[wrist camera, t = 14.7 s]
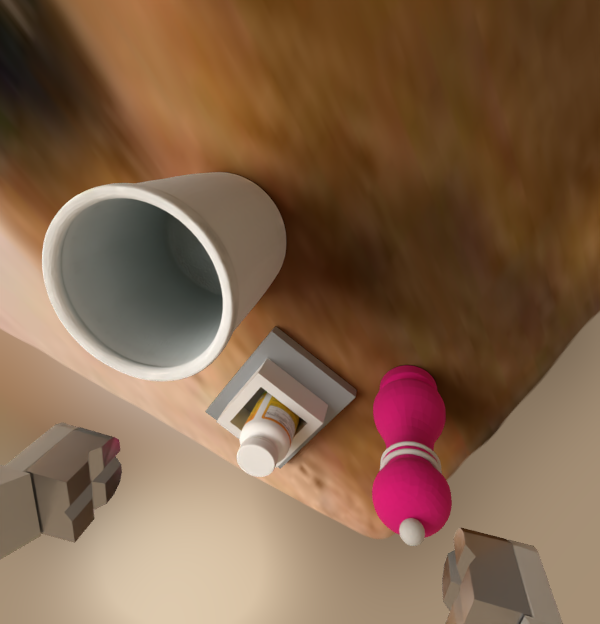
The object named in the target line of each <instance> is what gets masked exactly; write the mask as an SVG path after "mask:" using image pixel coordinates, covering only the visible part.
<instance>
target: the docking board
mask: <svg viewBox="0 0 600 624" xmlns="http://www.w3.org/2000/svg"><path fill="white" fill-rule="evenodd" d="M265 391H267V392H268V393H269V394H271V395H272V396H273V397H275V398H276V399H277V400H279V401H280V402H281V403H282V404H284V405H285V406H286V407H288V408H289V409H290V410H291V411H293V412H294V413H295V414H297V415H298V416H299V417H300V421H299V423H298V426H297V429H296V432H295V434H294V437H293V440H292V443H291V446H290V448H289V451H288V453H287V455H286V457H285V458H284V459H283V460H282V461H280V462H278V463H277V464H276V466H275V467H276V468H277V467H279V468H281V467H282V466H284V465H285V464H286V463H287V462H288V461H289V460H290V459H291V458H292V457H293V456H294V455H295V454H296V453H297V452H298V451H299V450H300V449H301V448H302V447H304V446H305V445H306V444H307V443H308V442H309V441H310V440H311V439H312V438H313V437H314V436H315V435H316V434H317V433H318V432H319V431H320V430H321V429H323V428H324V427H325V426H326V425H327V424H328V423H329V422H330V421H331V420H332V419H333V418H334V417H335V416H336V415H337V414H338V413H339V412H340V411H341V410H343V409H344V408H345V407H346V406H347V405H348V404H349V403H350V402H351V401H352V400H353V399H354V398H355V397H356V392H357V390H356V389H355V388H353V387H352V386H351V385H350V384H348V383H347V382H346V381H345V380H343V379H342V378H341V377H340V376H338V375H337V374H336V373H334V372H333V371H332V370H331V369H329V368H328V367H327V366H326V365H324V364H323V363H322V362H321V361H319V360H318V359H317V358H315V357H314V356H313V355H312V354H310V353H309V352H308V351H307V350H305V349H304V348H303V347H301V346H300V345H299V344H298V343H296V342H295V341H294V340H293V339H291V338H290V337H289V336H288V335H286V334H285V333H284V332H282V331H281V330H280V329H279V328H277V327H276V326H275V327H274V328H273V330H272V331H271V332H270V333H269V334H268V336H267V337H266V338H265V339H264V340H263V342H262V343H261V344H260V345H259V346H258V348H257V349H256V350H255V351H254V353H253V354H252V355H251V356H250V357H249V359H248V360H247V361H246V362H245V363H244V365H243V366H242V367H241V368H240V370H239V371H238V372H237V373H236V374H235V376H234V377H233V378H232V379H231V380H230V382H229V383H228V384H227V385H226V386H225V388H224V389H223V390H222V391H221V393H220V394H219V395H218V396H217V397H216V399H215V400H214V401H213V402H212V403H211V405H210V406H209V407H208V409H207V410H206V411H205V412H206V413H208V414H209V415H210V416H212V417H213V418H214V419H216V420H217V421H216V422H217V423H219V424H220V425H221V426H223V427H224V428H225V429H226V430H228V431H229V432H230V433H232V434H233V435H234V436H236V437H237V438H238V439H240V433H241V431H242V429H243V427H244V425H245V423H246V421H247V419H248V418H249V416H250V414H251V412H252V410H253V409H254V407H255V405H256V403H257V401H258V399H259V398H260V396H261V395H262V393H263V392H265Z"/></svg>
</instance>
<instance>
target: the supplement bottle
mask: <svg viewBox="0 0 600 624" xmlns="http://www.w3.org/2000/svg"><path fill="white" fill-rule="evenodd" d="M299 421H300V417H299V416H298V415H297V414H295V413H294V412H293V411H291V410H290V409H289V408H288V407H286V406H285V405H284V404H282V403H281V402H280V401H279V400H277V399H276V398H275V397H273V396H272V395H271V394H269V393H268V392H267V391H265V392H263V393H262V395H261V396H260V398H259V399H258V401H257V403H256V405H255V407H254V409H253V410H252V412H251V414H250V416H249V418H248V419H247V421H246V423H245V425H244V427H243V429H242V431H241V433H240V445H241V446H240V448H239V450H238V452H237V462H238V464H239V466H240V468H241V469H242V470H243V471H245V472H246V473H248V474H249V475H252V476H256V477H264V476H267V475H269V474H271V473H272V472H273V470H274V468H275V466H276V464H277V463H278V462H280V461H282V460H283V459H284V458H285V457H286V455H287V453H288V451H289V448H290V446H291V443H292V440H293V437H294V434H295V432H296V429H297V426H298V423H299Z"/></svg>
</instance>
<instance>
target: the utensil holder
mask: <svg viewBox="0 0 600 624" xmlns="http://www.w3.org/2000/svg"><path fill="white" fill-rule="evenodd" d="M285 254H286V231H285V226H284V223H283V220H282V217H281V215H280V212H279V210H278V209H277V207H276V205H275V204H274V202H273V201H272V199H271V198H270V197H269V196H268V195H267V194H266V192H265V191H263V190H262V189H261V188H260V187H259V186H258V185H256V184H255V183H253V182H252V181H250V180H248V179H246V178H244V177H242V176H239V175H236V174H231V173H225V172H211V173H199V174H190V175H183V176H177V177H172V178H166V179H160V180H153V181H147V182H142V183H136V184H133V183H114V184H108V185H102V186H98V187H95V188H92V189H89V190H87V191H84V192H82V193H80V194H78V195H77V196H75V197H74V198H72V199H71V200H70V201H68V202H67V203H66V204H65V205H64V206H63V207H62V208H61V209H60V210H59V212H58V213H57V214H56V216H55V217H54V219H53V220H52V222H51V224H50V226H49V228H48V230H47V233H46V236H45V240H44V244H43V252H42V268H43V277H44V282H45V286H46V290H47V293H48V296H49V299H50V301H51V304H52V306H53V308H54V310H55V312H56V314H57V316H58V317H59V319H60V321H61V322H62V324H63V325H64V326H65V328H66V329H67V331H68V332H69V333H70V334H71V336H72V337H73V338H74V339H75V340H76V341H77V342H78V343H79V344H80V345H81V346H82V347H83V348H84V349H85V350H86V351H88V352H89V353H90V354H91V355H93V356H94V357H95V358H97V359H98V360H99V361H101V362H103V363H104V364H106V365H108V366H109V367H111V368H113V369H115V370H117V371H120V372H122V373H124V374H127V375H129V376H132V377H136V378H140V379H144V380H150V381H174V380H180V379H184V378H187V377H190V376H193V375H195V374H197V373H199V372H200V371H202V370H204V369H205V368H206V367H208V366H209V365H210V364H211V363H212V362H213V361H214V360H215V359H216V358H217V357H218V356H219V355H220V353H221V352H222V351H223V349H224V348H225V346H226V345H227V343H228V341H229V340H230V337H231V335H232V333H233V331H234V330H235V329H236V328H237V327H238V325H239V324H240V323H241V322H242V320H243V319H244V318H245V317H246V316H247V314H248V313H249V312H250V311H251V310H252V308H253V307H254V306H255V305H256V304H257V302H258V301H259V300H260V298H261V297H262V296H263V295H264V293H265V292H266V291H267V289H268V288H269V286H270V285H271V283H272V282H273V280H274V279H275V277H276V276H277V274H278V273H279V271H280V269H281V267H282V264H283V261H284V258H285Z"/></svg>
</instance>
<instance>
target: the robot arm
mask: <svg viewBox="0 0 600 624" xmlns="http://www.w3.org/2000/svg"><path fill="white" fill-rule="evenodd" d="M119 451H120V443H119V440H118V439H117V438H115V437H112V436H108V435H104V434H101V433H98V432H95V431H91V430H87V429H84V428H79V427H76V426H73V425H69V424H66V423H60V424H56V425H54V426H53V427H52V428H51V429H49V430H48V431H47V432H46V433H45V434H43V435H42V436H41V437H39V438H38V439H37V440H36V441H35V442H33V443H32V444H31V445H30V446H28V447H27V448H26V449H25V450H24V451H22V452H21V453H20V454H19V455H17V456H16V457H15V458H14V459H12V460H11V461H10V462H9V463H7V464H6V465H5V466H2V465H0V559H2V558H4V557H6V556H7V555H9V554H11V553H12V552H14V551H16V550H17V549H19V548H21V547H22V546H24V545H26V544H28V543H29V542H31V541H33V540H34V539H36V538H38V537H40V536H41V534H45V535H49V536H53V537H56V538H60V539H63V540H68V541H71V542H76V541H77V539H78V538H79V537H80V536H81V534H82V533H83V532H84V531H85V530H86V528H87V527H88V526H89V525H90V523H91V522H92V521H93V520H94V513H95V509H97V508H99V507H101V506H103V505H105V504H107V502H108V501H109V500H110V499H111V498H112V496H113V495H114V493H115V491H116V489H117V487H118V485H119V483H120V479H121V473H122V469H121V464H120V462H119V461H118V459H117V458H116V455H117V454H118V453H119ZM453 540H454V549H455V550H454V551H452V552H450V553H448V555H447V558H446V561H445V564H444V571H443V578H442V591H443V602H444V603H445V604H446V606H447V608H448V609H449V611H450V613H449V615H448V618H447V620H446V623H445V624H563V623H562V620H561V617H560V614H559V611H558V608H557V605H556V602H555V600H554V597H553V594H552V591H551V588H550V585H549V582H548V579H547V576H546V573H545V571H544V568H543V565H542V562H541V559H540V556H539V553H538V551H537V549H536V548H535V547H534V546H532V545H528V544H524V543H519V542H516V541H512V540H506V539H504V538H500V537H496V536H492V535H488V534H484V533H480V532H476V531H472V530H468V529H464V528H459V529H458V530H457V531H456V534H455V537H454V539H453Z"/></svg>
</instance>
